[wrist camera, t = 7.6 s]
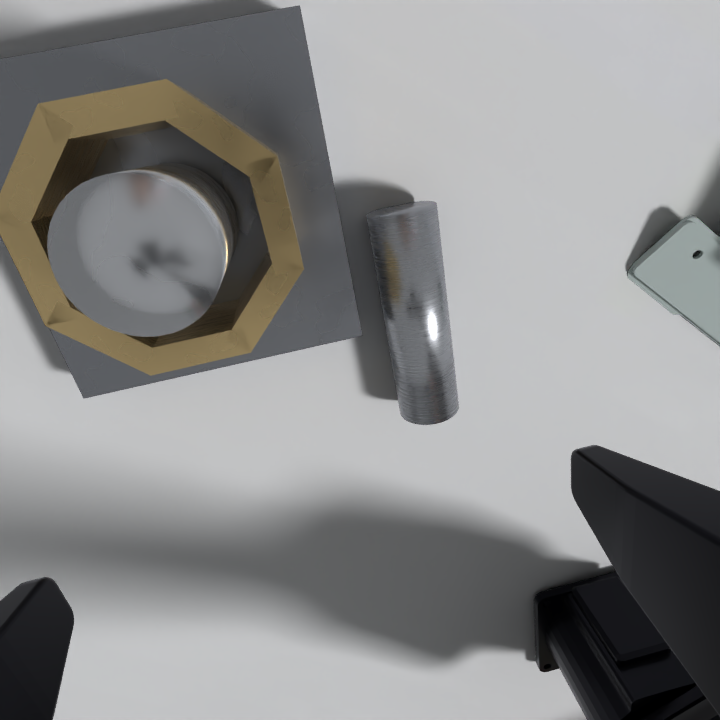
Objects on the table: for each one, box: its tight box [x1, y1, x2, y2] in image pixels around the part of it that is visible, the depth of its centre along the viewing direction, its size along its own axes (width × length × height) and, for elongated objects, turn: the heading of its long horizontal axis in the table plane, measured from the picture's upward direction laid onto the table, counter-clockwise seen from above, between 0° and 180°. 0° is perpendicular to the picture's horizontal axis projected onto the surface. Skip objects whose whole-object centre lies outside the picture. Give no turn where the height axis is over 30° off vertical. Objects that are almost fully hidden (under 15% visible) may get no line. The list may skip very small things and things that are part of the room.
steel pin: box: [367, 201, 459, 425], centre depth 18 cm, size 8×2×2 cm, turn 10°
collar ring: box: [0, 79, 304, 376], centre depth 14 cm, size 7×7×3 cm
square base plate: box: [0, 6, 362, 398], centre depth 14 cm, size 10×10×6 cm
